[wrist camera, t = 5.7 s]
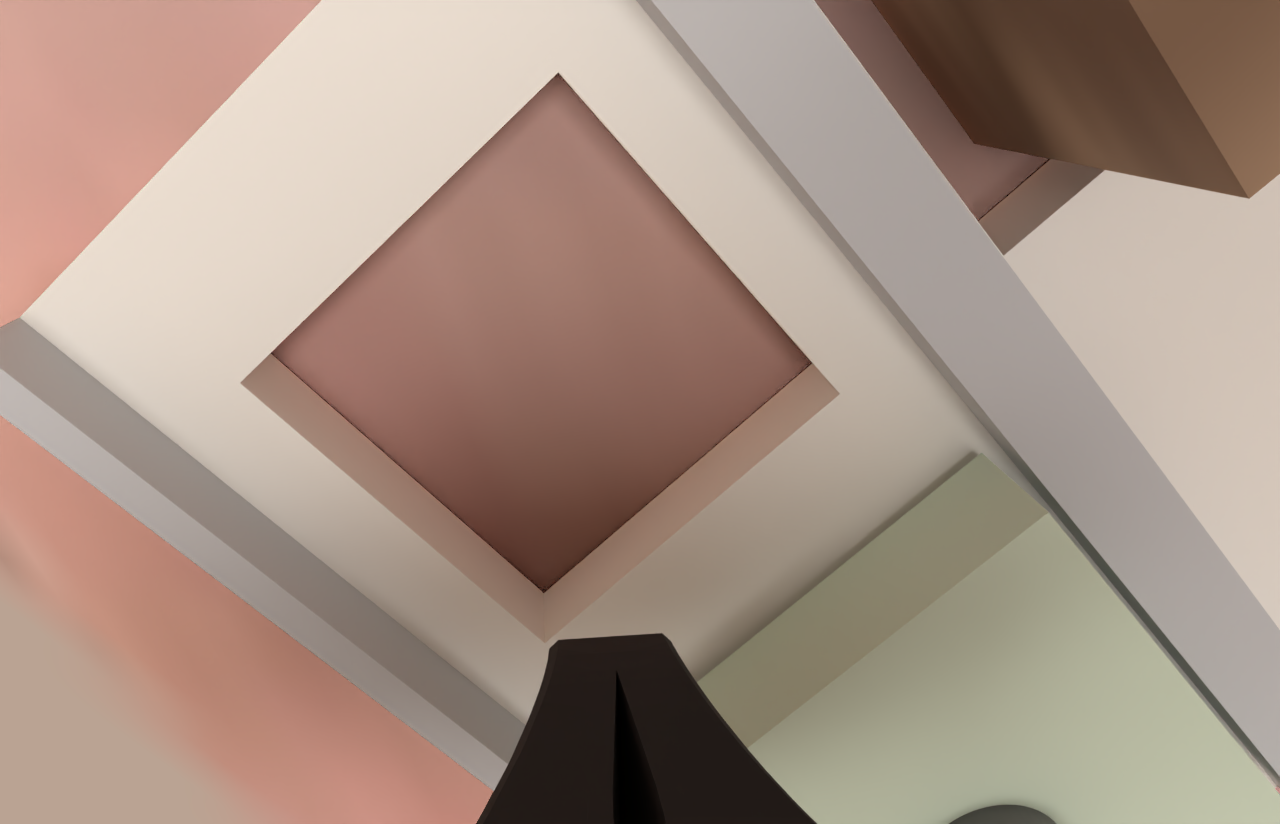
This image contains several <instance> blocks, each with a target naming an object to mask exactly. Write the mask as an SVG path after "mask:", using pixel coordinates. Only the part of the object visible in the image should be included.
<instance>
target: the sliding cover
mask: <svg viewBox="0 0 1280 824" xmlns="http://www.w3.org/2000/svg"><path fill="white" fill-rule="evenodd" d="M697 683H698V685H699V686H700V688H701V689H702V691H703V692H704V693H705V695H706V696H707V698H708V699H709V700H710V702H711V703H712V704H713V706H714V707H715V708H716V710H717V711H718V712H719V714H720V715H721V716H722V718H723V719H724V720H725V721H726V723H727V724H728V725H729V726H730V728H731V729H732V730H733V731H734V733H735V734H736V735H737V736H738V738H739V739H740V740H741V741H742V743H743V744H744V745H745V746H746V747H747V749H748V750H749V751H750V752H751V753H752V755H753V756H754V757H755V758H756V759H757V760H758V762H759V763H760V764H761V765H762V766H763V767H764V769H765V770H766V771H767V772H768V773H769V774H770V775H771V776H772V777H773V778H774V779H775V781H776V782H777V783H778V784H779V785H780V786H781V787H782V788H783V789H784V790H785V791H786V792H787V794H788V795H789V796H790V797H791V798H792V799H793V800H794V801H795V802H796V803H797V804H798V805H799V806H800V807H801V808H802V809H803V810H804V811H805V812H806V813H807V814H808V815H809V816H810V817H811V818H812V819H813V820H814V821H815V822H816V823H817V824H1280V794H1279V793H1278V792H1277V791H1276V789H1275V788H1274V787H1273V786H1272V784H1271V783H1270V782H1269V781H1268V780H1267V778H1266V777H1265V776H1264V775H1263V773H1262V772H1261V771H1260V770H1259V769H1258V767H1257V766H1256V765H1255V764H1254V762H1253V761H1252V760H1251V759H1250V758H1249V756H1248V755H1247V754H1246V753H1245V752H1244V750H1243V749H1242V748H1241V747H1240V745H1239V744H1238V743H1237V742H1236V741H1235V739H1234V738H1233V737H1232V736H1231V734H1230V733H1229V732H1228V731H1227V730H1226V728H1225V727H1224V726H1223V725H1222V723H1221V722H1220V721H1219V720H1218V719H1217V717H1216V716H1215V715H1214V714H1213V712H1212V711H1211V710H1210V709H1209V708H1208V706H1207V705H1206V704H1205V703H1204V701H1203V700H1202V699H1201V698H1200V697H1199V695H1198V694H1197V693H1196V692H1195V690H1194V689H1193V688H1192V687H1191V686H1190V684H1189V683H1188V682H1187V681H1186V679H1185V678H1184V677H1183V676H1182V675H1181V673H1180V672H1179V671H1178V670H1177V668H1176V667H1175V666H1174V665H1173V664H1172V662H1171V661H1170V660H1169V659H1168V657H1167V656H1166V655H1165V654H1164V653H1163V651H1162V650H1161V649H1160V648H1159V646H1158V645H1157V644H1156V643H1155V642H1154V640H1153V639H1152V638H1151V637H1150V635H1149V634H1148V633H1147V632H1146V631H1145V629H1144V628H1143V627H1142V626H1141V624H1140V623H1139V622H1138V621H1137V620H1136V618H1135V617H1134V616H1133V615H1132V613H1131V612H1130V611H1129V610H1128V609H1127V607H1126V606H1125V605H1124V604H1123V603H1122V601H1121V600H1120V599H1119V598H1118V596H1117V595H1116V594H1115V593H1114V592H1113V590H1112V589H1111V588H1110V587H1109V585H1108V584H1107V583H1106V582H1105V581H1104V579H1103V578H1102V577H1101V576H1100V574H1099V573H1098V572H1097V571H1096V570H1095V568H1094V567H1093V566H1092V565H1091V563H1090V562H1089V561H1088V560H1087V559H1086V557H1085V556H1084V555H1083V554H1082V552H1081V551H1080V550H1079V549H1078V548H1077V546H1076V545H1075V544H1074V543H1073V541H1072V540H1071V539H1070V538H1069V537H1068V535H1067V534H1066V533H1065V532H1064V530H1063V529H1062V528H1061V527H1060V526H1059V524H1058V523H1057V522H1056V521H1055V519H1054V518H1053V517H1052V516H1051V515H1050V513H1049V512H1048V511H1047V510H1046V509H1044V508H1043V507H1042V506H1041V505H1040V504H1039V503H1038V502H1037V501H1035V500H1034V499H1033V498H1032V497H1031V496H1030V495H1029V494H1027V493H1026V492H1025V491H1024V490H1023V489H1022V488H1021V487H1020V486H1018V485H1017V484H1016V483H1015V482H1014V481H1013V480H1012V479H1011V478H1009V477H1008V476H1007V475H1006V474H1005V473H1004V472H1003V471H1002V470H1000V469H999V468H998V467H997V466H996V465H995V464H994V463H993V462H991V461H990V460H989V459H988V458H987V457H986V456H985V455H984V454H982V453H980V454H979V455H978V456H977V457H975V458H974V459H973V460H972V461H970V462H969V463H968V464H967V465H965V466H964V467H963V468H962V469H960V470H959V471H958V472H957V473H956V474H954V475H953V476H952V477H951V478H949V479H948V480H947V481H946V482H944V483H943V484H942V485H941V486H939V487H938V488H937V489H936V490H934V491H933V492H932V493H931V494H930V495H928V496H927V497H926V498H925V499H923V500H922V501H921V502H920V503H918V504H917V505H916V506H915V507H913V508H912V509H911V510H910V511H908V512H907V513H906V514H905V515H903V516H902V517H901V518H900V519H899V520H897V521H896V522H895V523H894V524H892V525H891V526H890V527H889V528H887V529H886V530H885V531H884V532H882V533H881V534H880V535H879V536H877V537H876V538H875V539H874V540H872V541H871V542H870V543H869V544H868V545H866V546H865V547H864V548H863V549H861V550H860V551H859V552H858V553H856V554H855V555H854V556H853V557H851V558H850V559H849V560H848V561H846V562H845V563H844V564H843V565H842V566H840V567H839V568H838V569H837V570H835V571H834V572H833V573H832V574H830V575H829V576H828V577H827V578H825V579H824V580H823V581H822V582H820V583H819V584H818V585H817V586H815V587H814V588H813V589H812V590H811V591H809V592H808V593H807V594H806V595H804V596H803V597H802V598H801V599H799V600H798V601H797V602H796V603H794V604H793V605H792V606H791V607H789V608H788V609H787V610H786V611H784V612H783V613H782V614H781V615H780V616H778V617H777V618H776V619H775V620H773V621H772V622H771V623H770V624H768V625H767V626H766V627H765V628H763V629H762V630H761V631H760V632H758V633H757V634H756V635H755V636H754V637H752V638H751V639H750V640H749V641H747V642H746V643H745V644H744V645H742V646H741V647H740V648H739V649H737V650H736V651H735V652H734V653H732V654H731V655H730V656H729V657H727V658H726V659H725V660H724V661H723V662H721V663H720V664H719V665H718V666H716V667H715V668H714V669H713V670H711V671H710V672H709V673H708V674H706V675H705V676H704V677H703V678H701V679H700V680H699V681H698V682H697Z"/></svg>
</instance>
